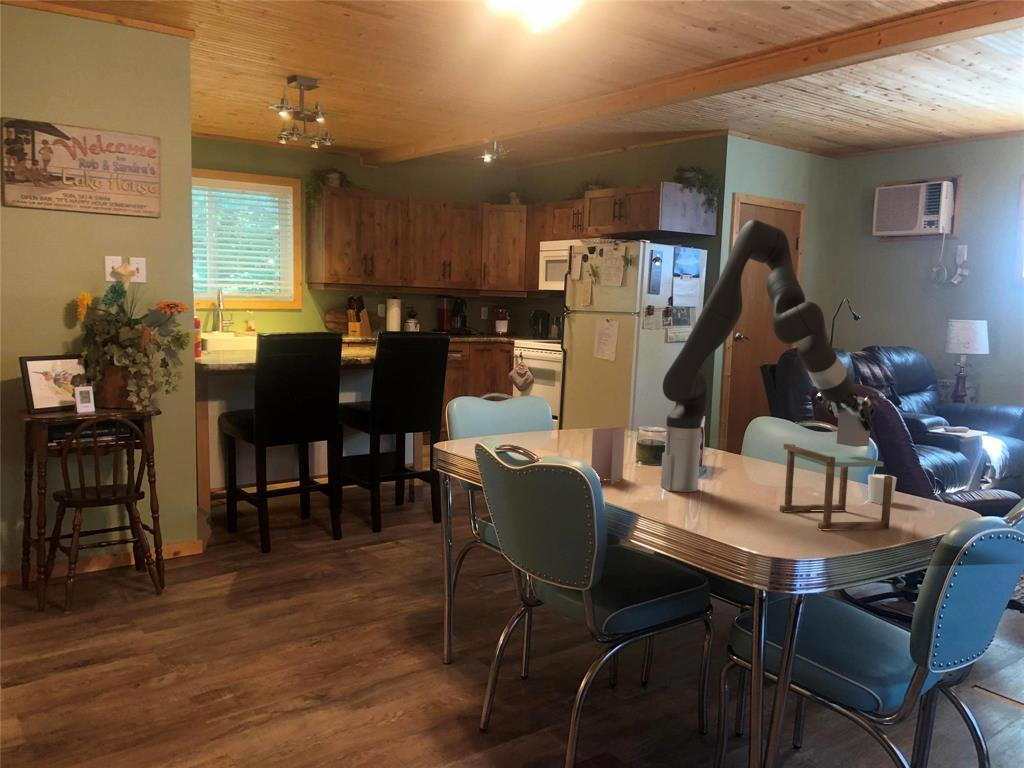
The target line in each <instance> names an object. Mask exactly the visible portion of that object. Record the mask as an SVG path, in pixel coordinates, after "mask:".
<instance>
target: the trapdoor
mask: <svg viewBox="0 0 1024 768" xmlns="http://www.w3.org/2000/svg"><path fill="white" fill-rule="evenodd" d="M815 452H816V453H819V454H823V455H826V456H833V457H835V468H841V467H848V468H855V467H857V468H866V467H867V468H869V467H873V468H874V467H884V463H885V462H884V461H881V460H877V459H874V458H870V457H866V456H863V455H860V454H856V453H852V452H848V451H815ZM794 456H795V458H798V459H799V458H800V459H802V460H805V461H809V462H811V463H814V464H817V465H821V466H823V467H826V468H827V462H823V461H820V460H817V459H813V458H810V457H807V456H804V455H801V454H798V453H795V452H794Z"/></svg>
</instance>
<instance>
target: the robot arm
mask: <svg viewBox="0 0 1024 768" xmlns="http://www.w3.org/2000/svg"><path fill="white" fill-rule="evenodd" d="M749 260H752V261H755V262H758V263H761V264H765V265H767V266H768V267H769V269H770V270H771V272H770V273H769V275H768V276H767V280H766V283H765V284H766V291H767V294H768V296H769V300H770V302H771V305H772V310H773V311H772V313H773V314H772V327H773V331H774V335H775V337H776V338H777V340H779V342H781V343H783V344H785V345H792V344H796V343H797V342H800V341H801V343H799V345H798V347H797V349H796V350H797V351H796V352H797V355H798V358H799V359H800V361H801V362H802V364H803V366H804V367H805V369H806V371H807V373H808V375H809V379H811V380H810V381H811V382H812V383H813V385H814V387H815V388H816V390H817V391H818V393H817V394H816V396H815V398H814V400H815V401H816V402H817V403H818V404H819V406H820V407H821V408H822V409H823V410H824V411H825V413H826V414H828V415H829V416H832V415H834V417H835V418H837V419H838V416H839V413H840V410H841V409H846V410H848V411H849V412H850V413H851V414H852V415H855V416H856V417H858V419H859V420H860V422H861V423H862V425H863V427H864V428H865V430H866V431H870V432H871V430H872V429H873V427H874V426H875V425H874V421H873V420H872V418H873V416H874V415H875V414H876V409H875V406H874V402H873V398H872V396H871V395H866V397H862V396H860V395H859V393H857V392H856V391H855V383H854V382H853V379H852V377H851V376H850V374H849V372H848V370H847V369H846V367H845V365H844V363H843V362H842V360H841V359H840V357H839V356H838V355H837V354H836V352H835V350H834V348H833V346H832V344H831V342H830V340H829V337H828V334H827V328H826V322H825V317H824V312H823V310H822V308H821V307H820V306H819V305H818V304H817V303H815V302H813V301H806V296H805V293H804V291H803V289H802V287H801V285H800V283H799V280H798V278H797V276H796V274H795V270H794V266H793V265H794V264H793V258H792V254H791V249H790V244H789V239H788V236H787V235H786V233H785V231H783V230H782V229H781V228H779V227H776V226H774V225H771V224H768V223H765V222H763V221H760V220H757V219H750V220H748V221H747V222H745V224H744V225H742V228H741V229H740V231H739V233H738V235H737V237H736V239H735V241H734V243H733V246H732V249H731V250H730V252H729V255H728V258H727V260H726V263H725V265H724V268H723V270H722V271H721V274H720V276H719V278H718V279H717V282H716V283H715V286H714V288H713V289H712V292H711V294H710V296H708V299H707V301H706V302H705V304H704V307H703V308H702V310H701V312H700V314H699V316H698V317H697V320H696V321H695V322H696V323H695V324H694V326H693V328H692V330H691V332H690V333H689V336H688V337H687V339H686V341H685V344H684V345H683V348H682V349H681V350H680V352H679V354H678V355H677V356H676V358H675V360H673V362H672V364H671V366H669V368H668V370H667V372H666V373H665V376H664V377H663V381H662V392H663V395H664V397H665V398H666V399H668V400H669V401H670V402H673V403H675V406H674V408H673V409H672V411H671V412H670V413H668V415H667V416H666V423H665V424H666V427H665V447H664V448H665V450H664V451H663V452H662V453H661V456H662V457H661V472H660V473H661V476H660V487H661V488H663V489H665V490H667V491H668V492H678V493H693V492H697V491H698V490H699V474H700V454H701V453H700V452H701V436H702V435H701V434H702V421H703V419H704V417H705V413H706V407H707V406H706V405H707V396H708V395H707V394H708V393H707V392H708V383H707V378H706V376H705V373H704V371H702V370H701V369H702V367H703V365H704V364H705V362H706V360H708V358H709V357H710V356H711V355H712V354H714V352H715V351H716V350H717V349H719V347H720V346H721V345H722V344H723V343H724V342H726V340H727V339H728V338H729V336H731V334H732V332H733V330H734V329H735V327H736V325H737V323H738V322H739V319H740V317H741V315H742V313H743V294H742V293H743V292H742V276H743V274H744V271H745V268H746V265H747V263H748V261H749ZM857 404H859V407H857V408H855V407H856V405H857ZM854 408H855V409H854ZM860 411H862V412H863V414H862V415H861V414H860Z"/></svg>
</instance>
